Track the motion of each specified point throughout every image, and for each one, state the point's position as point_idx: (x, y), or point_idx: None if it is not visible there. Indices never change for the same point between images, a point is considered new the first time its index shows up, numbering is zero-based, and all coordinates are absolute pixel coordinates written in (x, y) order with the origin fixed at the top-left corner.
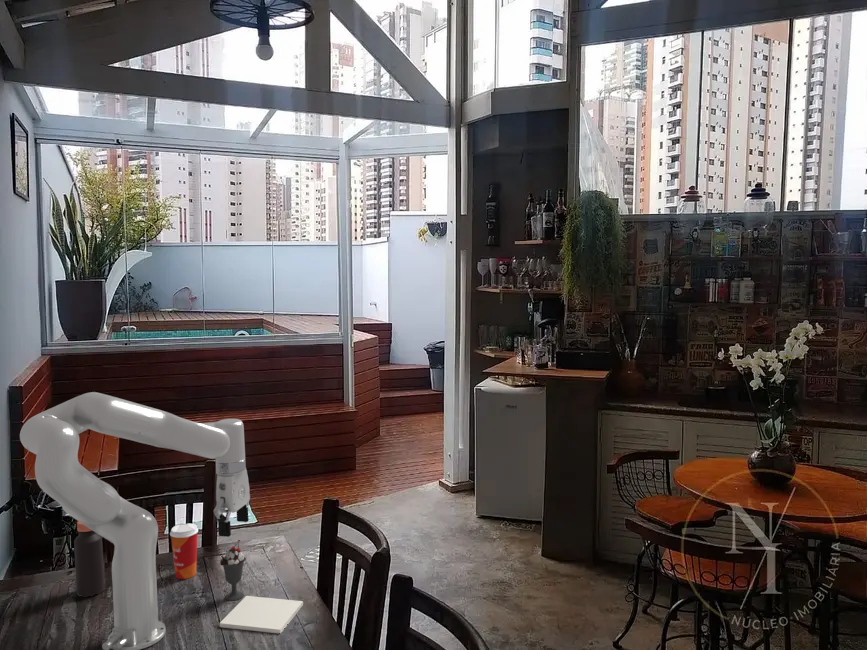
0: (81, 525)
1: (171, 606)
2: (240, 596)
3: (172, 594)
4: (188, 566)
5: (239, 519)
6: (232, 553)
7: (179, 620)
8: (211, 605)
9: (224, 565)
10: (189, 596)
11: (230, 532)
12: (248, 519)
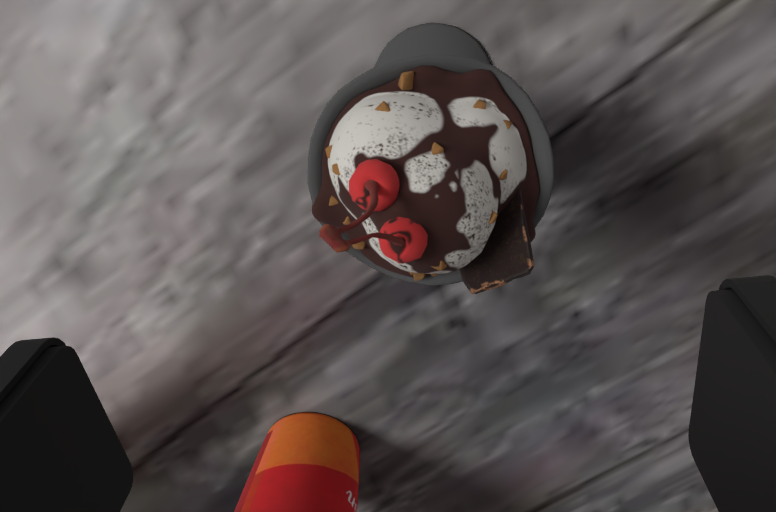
0: None
1: (620, 337)
2: (436, 36)
3: (504, 397)
4: (330, 467)
5: (106, 472)
6: (468, 198)
7: (765, 218)
8: (570, 153)
9: (545, 195)
10: (502, 319)
11: (772, 311)
12: (6, 352)
